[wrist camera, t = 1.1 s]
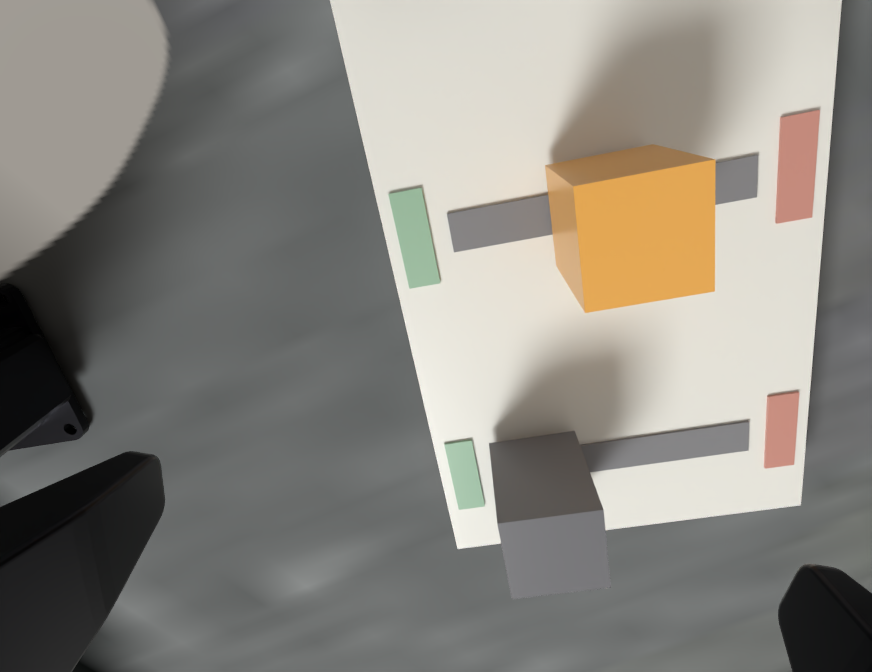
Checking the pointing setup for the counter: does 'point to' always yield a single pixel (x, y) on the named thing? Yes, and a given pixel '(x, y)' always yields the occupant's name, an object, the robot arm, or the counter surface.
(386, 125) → the breaker panel
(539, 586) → the switch
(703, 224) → the orange matte cube
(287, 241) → the counter surface
